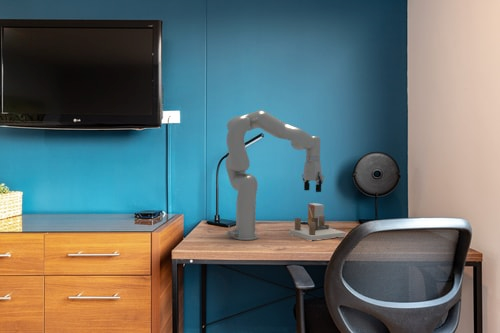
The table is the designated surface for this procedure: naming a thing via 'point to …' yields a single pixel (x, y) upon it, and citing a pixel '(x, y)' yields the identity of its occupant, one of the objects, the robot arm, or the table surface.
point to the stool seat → (315, 234)
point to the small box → (315, 211)
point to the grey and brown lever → (319, 226)
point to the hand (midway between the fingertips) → (312, 191)
